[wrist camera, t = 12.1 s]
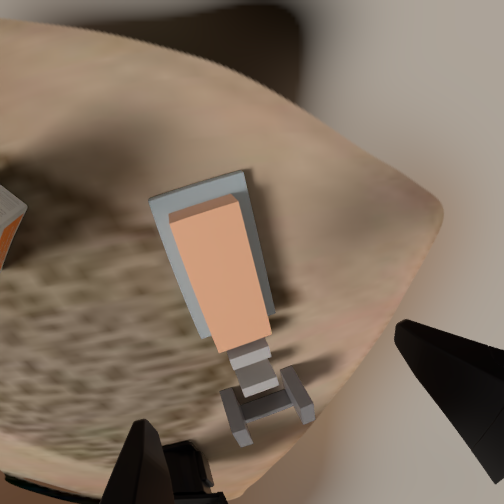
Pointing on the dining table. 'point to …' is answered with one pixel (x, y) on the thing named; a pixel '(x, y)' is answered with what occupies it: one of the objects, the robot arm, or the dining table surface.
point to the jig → (257, 380)
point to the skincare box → (9, 220)
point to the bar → (221, 270)
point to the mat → (195, 195)
